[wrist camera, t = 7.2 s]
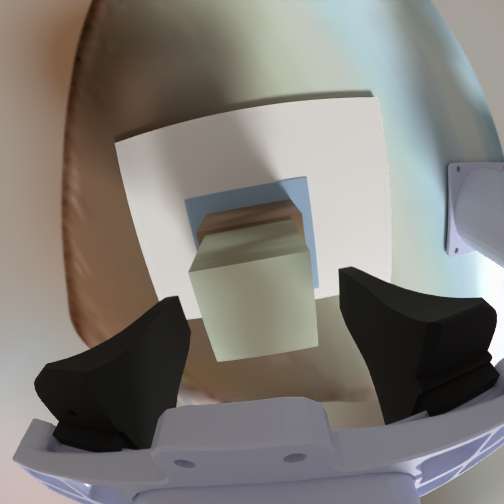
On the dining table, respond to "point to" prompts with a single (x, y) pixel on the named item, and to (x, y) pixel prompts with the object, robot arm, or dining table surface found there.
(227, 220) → the walnut base
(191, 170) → the board
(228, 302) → the sage block
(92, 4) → the dining table surface
